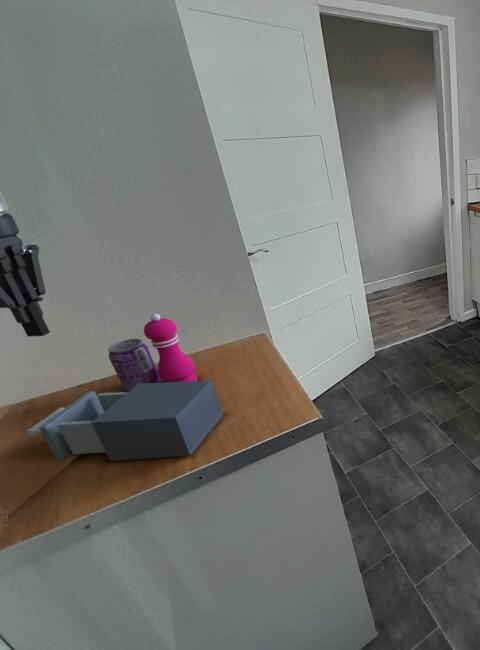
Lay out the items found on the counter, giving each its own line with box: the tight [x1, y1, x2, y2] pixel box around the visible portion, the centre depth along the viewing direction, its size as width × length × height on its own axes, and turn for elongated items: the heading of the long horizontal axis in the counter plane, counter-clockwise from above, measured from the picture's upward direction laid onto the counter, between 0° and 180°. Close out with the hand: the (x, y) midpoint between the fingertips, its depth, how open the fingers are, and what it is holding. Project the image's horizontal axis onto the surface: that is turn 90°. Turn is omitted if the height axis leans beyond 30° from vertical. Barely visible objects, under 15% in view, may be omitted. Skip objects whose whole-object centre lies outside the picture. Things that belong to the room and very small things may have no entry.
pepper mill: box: [143, 313, 198, 382], centre depth 100 cm, size 7×7×20 cm
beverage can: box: [108, 338, 162, 392], centre depth 100 cm, size 7×7×12 cm
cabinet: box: [91, 379, 224, 462], centre depth 85 cm, size 15×13×10 cm
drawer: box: [26, 390, 128, 460], centre depth 83 cm, size 18×11×8 cm, turn 97°
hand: (38, 334), depth 81 cm, fingers closed
